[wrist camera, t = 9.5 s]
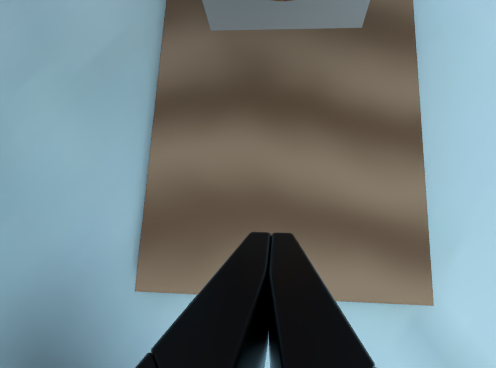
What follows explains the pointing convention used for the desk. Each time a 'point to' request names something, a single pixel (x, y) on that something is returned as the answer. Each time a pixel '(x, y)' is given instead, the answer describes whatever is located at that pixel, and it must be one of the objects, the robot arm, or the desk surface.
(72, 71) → the desk surface
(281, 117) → the walnut board
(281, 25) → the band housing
